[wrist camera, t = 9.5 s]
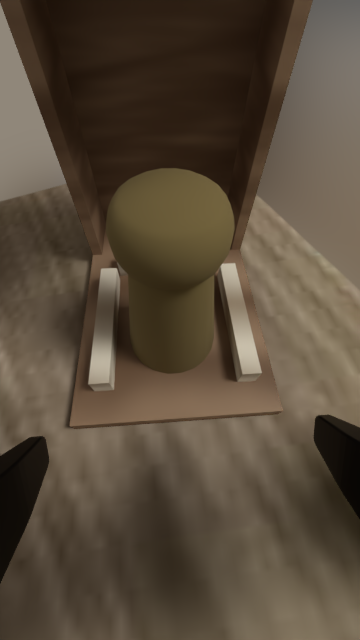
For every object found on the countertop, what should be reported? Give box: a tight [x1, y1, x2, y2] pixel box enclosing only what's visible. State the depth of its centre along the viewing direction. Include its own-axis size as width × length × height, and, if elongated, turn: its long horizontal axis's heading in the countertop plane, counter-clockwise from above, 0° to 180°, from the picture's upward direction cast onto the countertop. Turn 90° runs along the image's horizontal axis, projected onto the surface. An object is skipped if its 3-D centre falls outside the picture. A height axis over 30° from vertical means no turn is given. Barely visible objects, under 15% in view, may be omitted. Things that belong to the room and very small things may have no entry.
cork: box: [106, 168, 235, 374], centre depth 14 cm, size 6×6×11 cm
